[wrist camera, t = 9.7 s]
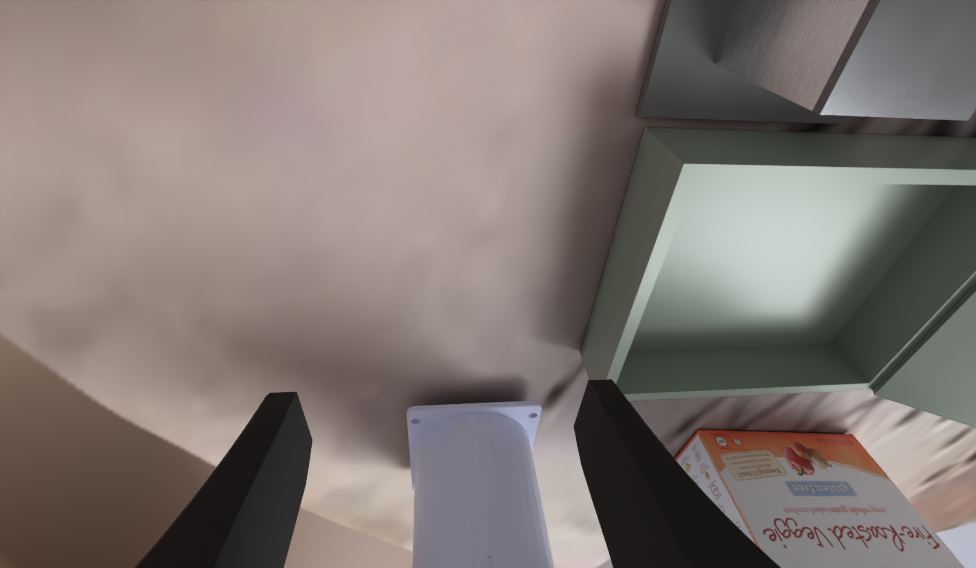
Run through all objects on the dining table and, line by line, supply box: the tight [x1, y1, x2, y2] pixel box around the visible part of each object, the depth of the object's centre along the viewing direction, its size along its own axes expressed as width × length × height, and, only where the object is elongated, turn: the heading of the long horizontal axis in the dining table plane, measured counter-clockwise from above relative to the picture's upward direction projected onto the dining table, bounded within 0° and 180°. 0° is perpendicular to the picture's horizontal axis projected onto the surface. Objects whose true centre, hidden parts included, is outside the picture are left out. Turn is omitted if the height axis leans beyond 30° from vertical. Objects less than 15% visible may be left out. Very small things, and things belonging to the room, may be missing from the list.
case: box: [580, 127, 976, 428], centre depth 19 cm, size 13×29×11 cm, turn 86°
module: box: [715, 0, 976, 121], centre depth 13 cm, size 4×4×6 cm
